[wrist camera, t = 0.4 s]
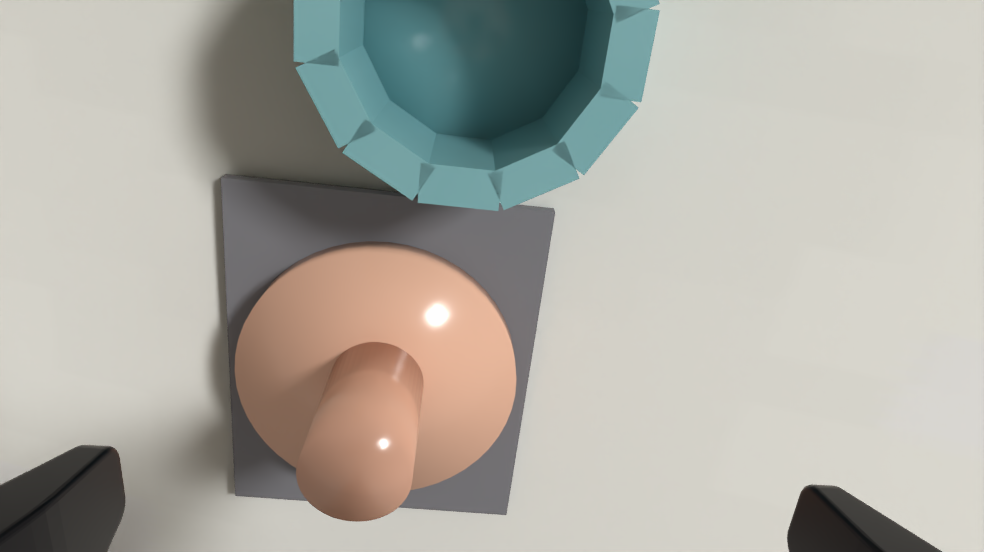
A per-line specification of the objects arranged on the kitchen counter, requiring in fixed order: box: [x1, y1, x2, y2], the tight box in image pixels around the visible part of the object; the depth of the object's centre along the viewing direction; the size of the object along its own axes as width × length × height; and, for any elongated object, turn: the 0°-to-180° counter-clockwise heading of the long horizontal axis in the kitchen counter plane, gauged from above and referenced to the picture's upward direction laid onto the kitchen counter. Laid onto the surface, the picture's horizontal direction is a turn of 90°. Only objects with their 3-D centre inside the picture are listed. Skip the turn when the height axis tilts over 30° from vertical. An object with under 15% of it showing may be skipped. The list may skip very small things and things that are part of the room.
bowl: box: [294, 0, 660, 211], centre depth 17 cm, size 8×8×4 cm
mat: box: [221, 174, 555, 515], centre depth 22 cm, size 12×10×1 cm
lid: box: [235, 241, 516, 521], centre depth 20 cm, size 9×9×6 cm
